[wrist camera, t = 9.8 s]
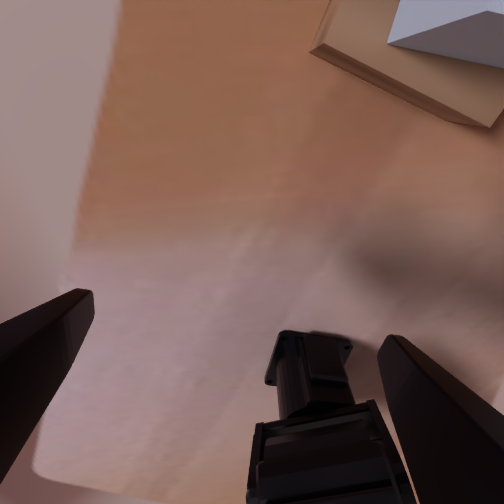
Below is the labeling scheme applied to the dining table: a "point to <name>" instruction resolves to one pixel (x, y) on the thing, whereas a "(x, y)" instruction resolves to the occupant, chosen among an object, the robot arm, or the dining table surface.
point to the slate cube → (452, 29)
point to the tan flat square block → (407, 64)
